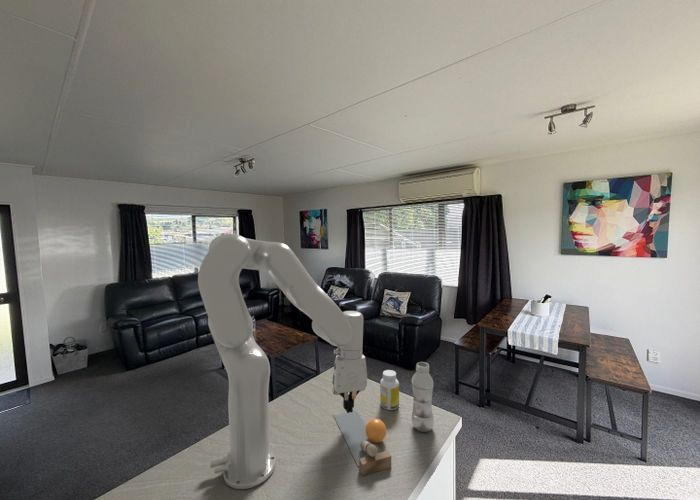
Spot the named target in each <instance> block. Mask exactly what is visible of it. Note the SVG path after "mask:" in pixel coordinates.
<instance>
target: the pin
mask: <svg viewBox="0 0 700 500" xmlns="http://www.w3.org/2000/svg"><path fill="white" fill-rule="evenodd" d="M360 448H361V449H362V450H363V451H364V452H366V453H367V454H368V455H370V456H372V457H374V456H376V455H377V453H378V449H377V447H376V446H375V445H373V444H372V443H369V442H367V441H366V440H363V441H361V443H360Z"/></svg>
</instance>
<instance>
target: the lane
mask: <svg viewBox="0 0 700 500" xmlns="http://www.w3.org/2000/svg"><path fill="white" fill-rule="evenodd" d="M333 418H334V419H335V422H336V424H337V425H338V428H339V430H340V432H341V434H342V436H343V438H344V441H345V443H346V445H347V447H348V449H349V452H350V453H351V455H352V457H353V459H354V462H355V464H356V466H357V467H358V468H359V459H360V458H363V457H367V456H370V455H368V454H367V453H366V452H364V451H363V450H362V449H361V448H360V443H361V441H363V440H366V441H367V442H369V443H372V444H373V445H375V446H376V447H377V449H378V453H381V452H383V450H382V449H381V447H380V446H379V445H378V444H379V443H374V442H371V441H370V440H369V439H368V437H367V435H366V431H365V429H366V425H367V424H366V423H365V421H364V420H363V418H362V417H361V415H360V414H359V412H358V411H357V410H356V409H355V410H353V412H349V413H347V412H343V413H339V414H335V415H333Z"/></svg>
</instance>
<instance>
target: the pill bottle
mask: <svg viewBox="0 0 700 500" xmlns="http://www.w3.org/2000/svg"><path fill="white" fill-rule="evenodd" d="M379 384H380V385H379V387H380V390H379V391H380V392H379V393H380V394H379V395H380V396H379V397H380V405H381V407H382V408H383V409H385V410H388V411H395V410H397V409H398V408H399V407H400V382H399V380H398V379H397V372H396V371H395V370H393V369H392V370H391V369H385V370H383V372H382V378H381V379H380V382H379Z"/></svg>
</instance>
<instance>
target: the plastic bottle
mask: <svg viewBox="0 0 700 500" xmlns="http://www.w3.org/2000/svg"><path fill="white" fill-rule="evenodd" d="M429 372H430V364H429V363H427V362H424V361H420V362H417V363H416V365H415V373H414V374H413V375H412V378H411V389H412V397H413V405H412V412H411V425H412V426H413V428H414V429H415V430H416V431H418V432H421V433H429V432H430V431H431V430H432V429H434V428H433V427H434V425H435V420H434V413H433V403H432V401H433V391H434V384H435V383H434V380H433V379H434V378H433V377H432V376H431V374H430V373H429Z"/></svg>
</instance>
